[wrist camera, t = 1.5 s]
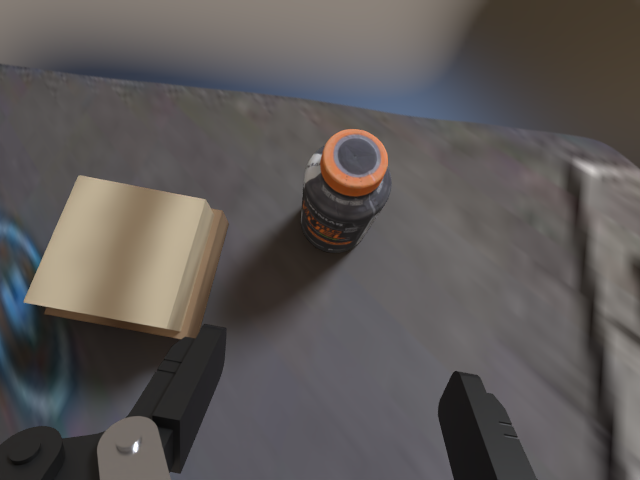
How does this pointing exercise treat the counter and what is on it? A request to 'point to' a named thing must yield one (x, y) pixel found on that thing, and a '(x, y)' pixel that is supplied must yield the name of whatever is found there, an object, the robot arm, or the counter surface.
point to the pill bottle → (344, 190)
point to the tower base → (131, 259)
